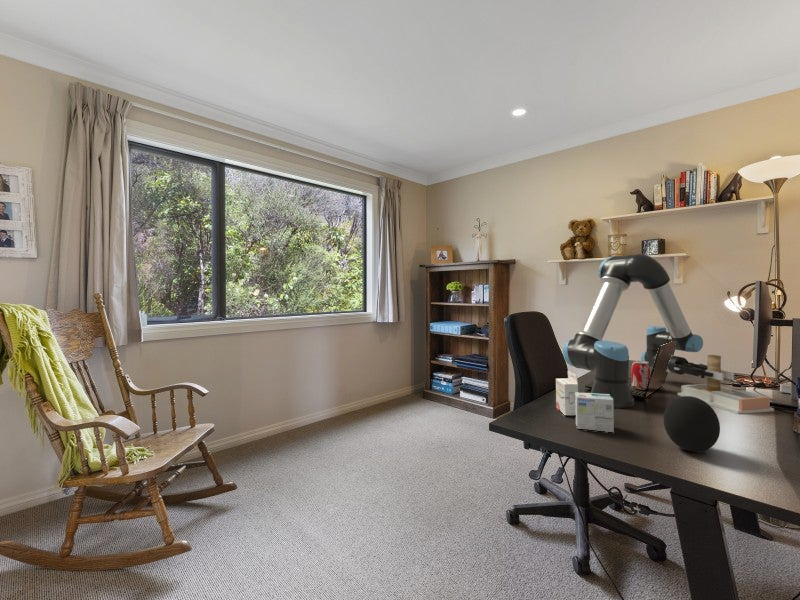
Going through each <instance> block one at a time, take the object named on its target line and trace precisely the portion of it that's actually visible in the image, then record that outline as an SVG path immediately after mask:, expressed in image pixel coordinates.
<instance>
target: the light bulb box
mask: <svg viewBox="0 0 800 600" xmlns="http://www.w3.org/2000/svg"><path fill="white" fill-rule="evenodd" d="M614 409H615V407H614V404H613V398H612V397H611V396H610V394H596V393H591V392H579V391H578V392H575V412H576V417H575V426H577V427H576V429H577V428H578V429H588V430H597V431H605V432H604V433H608V432H613V433H612V434H614V433H615V429H614V428H615V426H614V425H615V418H614V417H615V416H614V414H615V412H614V411H615V410H614ZM597 431H596V432H597Z"/></svg>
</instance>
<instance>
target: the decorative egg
mask: <svg viewBox="0 0 800 600" xmlns="http://www.w3.org/2000/svg"><path fill="white" fill-rule="evenodd" d="M663 426H664V430H665V431H666V434H667V435H668V437H669V439H670V440H671V441H672V442H673V444H675V445H676V446H678V447H679V448H680V449H682V450H685V451H687V452H692V453H702V452H705V451H708V450H709V449H711V448H712V447H713V446H715V444H716V443H717V441H718V440H719V438H720V434H721V423H720V420H719V417H718V415H717V413H716V411H715V410H714V408H713V406H711V405H708V404H707V403H706V402H705V401H703V400H701V399H699V398H696V397H692V396H679V397H676V398H674V399H673V400H671V401H670V402H669V403H668V404H667V406H666V408H665V410H664V412H663Z"/></svg>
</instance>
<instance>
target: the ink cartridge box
mask: <svg viewBox="0 0 800 600" xmlns="http://www.w3.org/2000/svg"><path fill="white" fill-rule="evenodd" d="M575 392H578V393H579V382H578V375H577V374H575V373H573V372H572V371H570V370H567V378H561V377H560V378H555V409H556V408H557V409H558V410H560V411H561V412H562V413H563V414H564V415H576V412H575ZM557 409H556V410H557ZM558 410H557V411H558ZM563 414H562V415H563ZM564 415H563V416H564Z"/></svg>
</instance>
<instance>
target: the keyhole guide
mask: <svg viewBox="0 0 800 600" xmlns="http://www.w3.org/2000/svg"><path fill="white" fill-rule="evenodd" d="M680 389H681V392H677V396H679V397H682V396H692V397H696V398H699V399H701V400H703V401H705V402H706V403H707V404H708V405H710V406H711V407H715V408H718V409H721V410H724V411H727V412H730V413H734V414H736V415H740V414H741V415H742V414H754V413H764V412H766V413H767V412H774V411H775V408H773V407H771V406H770V404H771V403H770V402H771V397H769V396H765V395H762V394H757V393H753V392H749V391H746V390H742V389H733V388H729V387H725V386H722V385H721V386H720V390H722V391H725V392H726V393H725V392H721V391H712V393H709V392H705V391H702V390H701V389H707V383H699V384H697V383H696V384H683V385H681V387H680Z"/></svg>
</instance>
